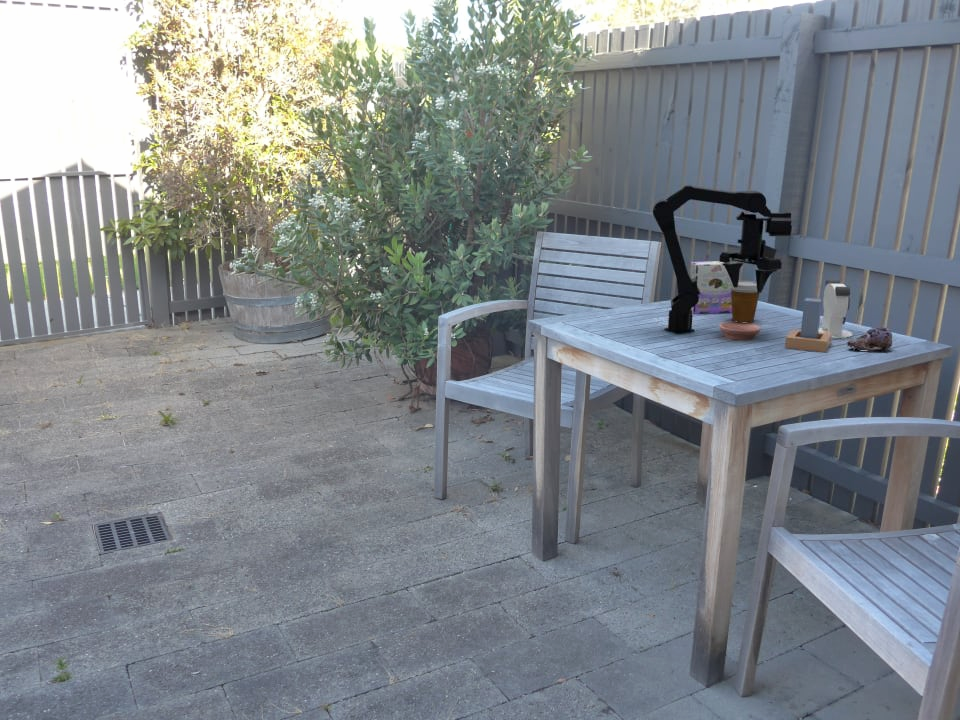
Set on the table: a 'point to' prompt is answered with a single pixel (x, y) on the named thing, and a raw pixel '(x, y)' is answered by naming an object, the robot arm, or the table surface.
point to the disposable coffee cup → (744, 301)
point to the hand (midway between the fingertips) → (747, 290)
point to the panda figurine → (835, 309)
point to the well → (808, 341)
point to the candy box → (712, 287)
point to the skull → (873, 340)
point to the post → (811, 318)
